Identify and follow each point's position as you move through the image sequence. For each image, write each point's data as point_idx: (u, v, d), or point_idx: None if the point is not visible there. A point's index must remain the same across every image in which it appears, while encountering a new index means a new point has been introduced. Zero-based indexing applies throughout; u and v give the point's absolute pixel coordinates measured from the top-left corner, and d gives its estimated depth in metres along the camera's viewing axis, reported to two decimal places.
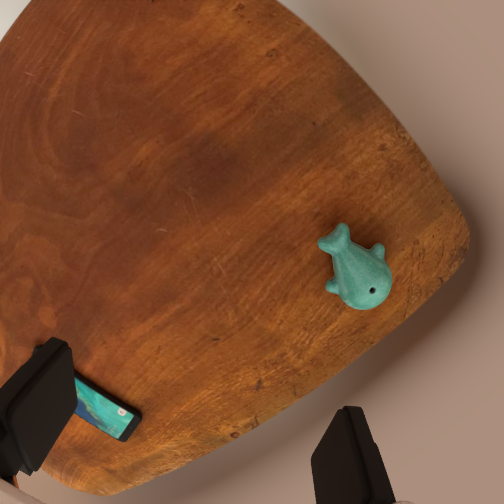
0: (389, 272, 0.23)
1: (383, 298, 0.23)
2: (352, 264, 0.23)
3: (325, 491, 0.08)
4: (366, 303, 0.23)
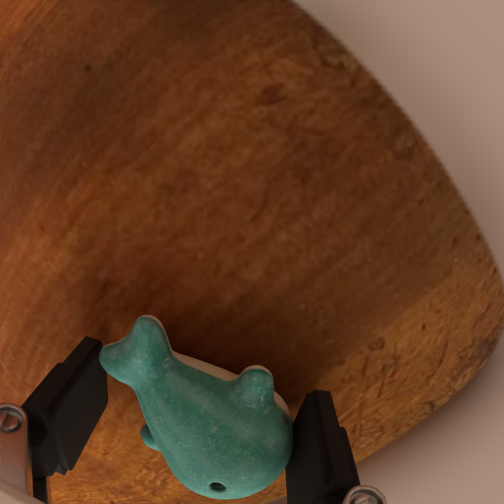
0: (273, 447, 0.08)
1: (259, 490, 0.08)
2: (164, 427, 0.08)
3: (293, 474, 0.08)
4: (213, 497, 0.08)
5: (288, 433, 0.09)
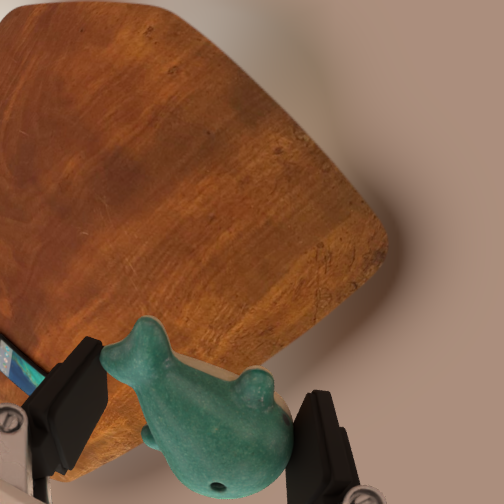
0: (273, 446, 0.08)
1: (259, 490, 0.08)
2: (164, 427, 0.08)
3: (293, 474, 0.08)
4: (213, 497, 0.08)
5: (288, 433, 0.09)
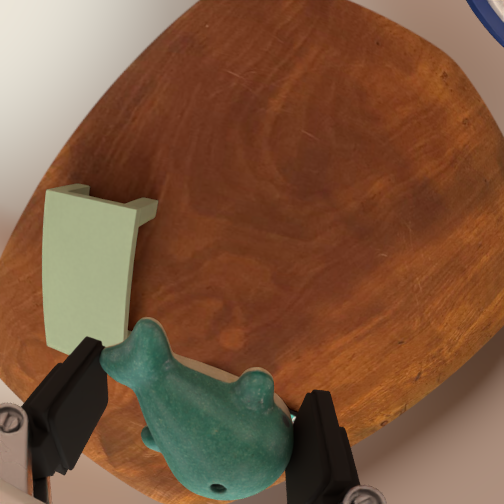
0: (273, 448, 0.08)
1: None
2: (164, 428, 0.08)
3: (293, 474, 0.08)
4: None
5: (288, 435, 0.09)
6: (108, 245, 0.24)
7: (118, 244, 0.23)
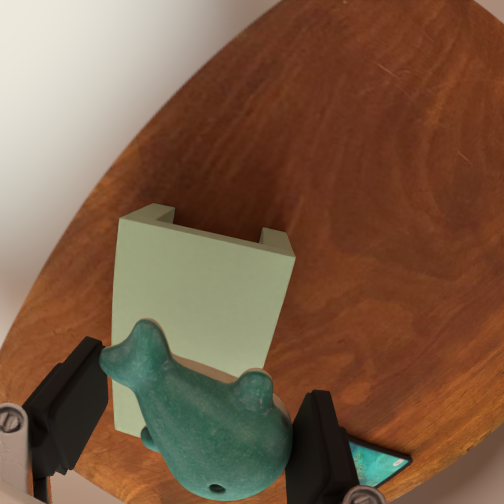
0: (272, 449, 0.08)
1: (258, 492, 0.08)
2: (163, 429, 0.08)
3: (293, 474, 0.08)
4: None
5: (287, 435, 0.09)
6: (240, 309, 0.16)
7: (258, 308, 0.16)
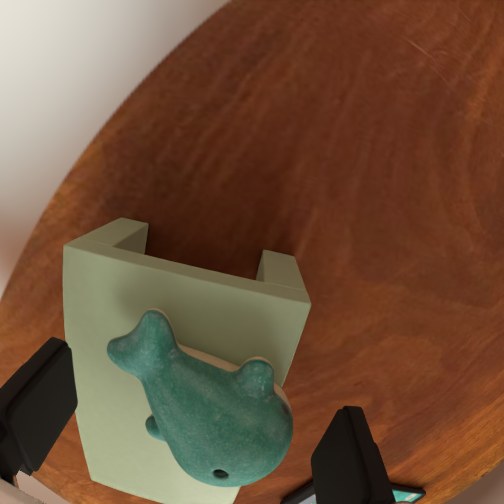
0: (273, 434, 0.09)
1: (259, 478, 0.09)
2: (169, 416, 0.08)
3: (325, 491, 0.08)
4: None
5: (287, 422, 0.09)
6: None
7: None
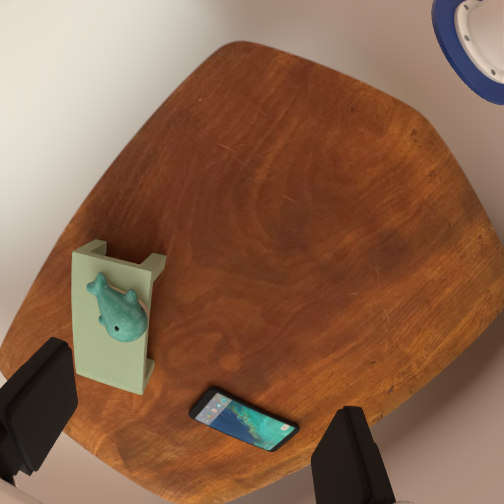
0: (134, 314, 0.27)
1: (131, 335, 0.27)
2: (102, 306, 0.27)
3: (325, 491, 0.08)
4: (117, 337, 0.27)
5: (141, 313, 0.28)
6: None
7: None
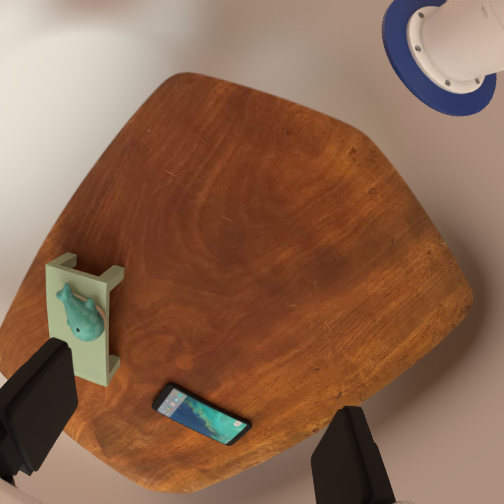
0: (91, 319, 0.31)
1: (90, 336, 0.31)
2: (67, 311, 0.31)
3: (325, 491, 0.08)
4: (79, 337, 0.31)
5: (98, 318, 0.32)
6: None
7: (97, 304, 0.34)
